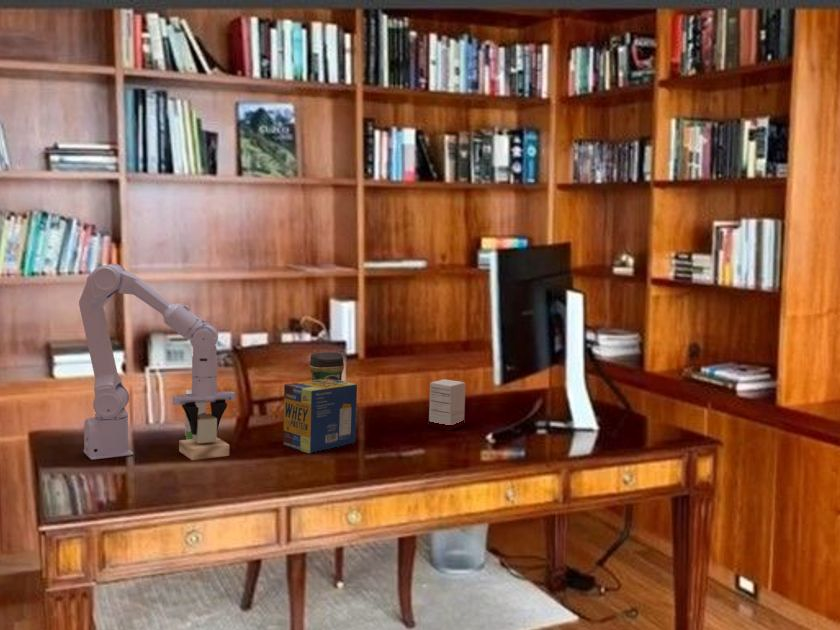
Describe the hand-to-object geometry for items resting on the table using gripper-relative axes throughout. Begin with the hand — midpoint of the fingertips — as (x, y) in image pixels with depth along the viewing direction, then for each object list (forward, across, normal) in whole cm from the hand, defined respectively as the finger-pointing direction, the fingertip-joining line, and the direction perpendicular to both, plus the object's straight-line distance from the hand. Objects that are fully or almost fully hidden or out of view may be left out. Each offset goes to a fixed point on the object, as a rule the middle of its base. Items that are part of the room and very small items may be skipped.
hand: (204, 432), depth 204 cm
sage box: (+2, 0, 0) cm, 2 cm away
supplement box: (+5, +68, -3) cm, 68 cm away
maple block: (+5, 0, 0) cm, 5 cm away
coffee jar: (+5, +44, +23) cm, 50 cm away
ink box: (+5, +3, +15) cm, 16 cm away
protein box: (+5, +28, -5) cm, 29 cm away
